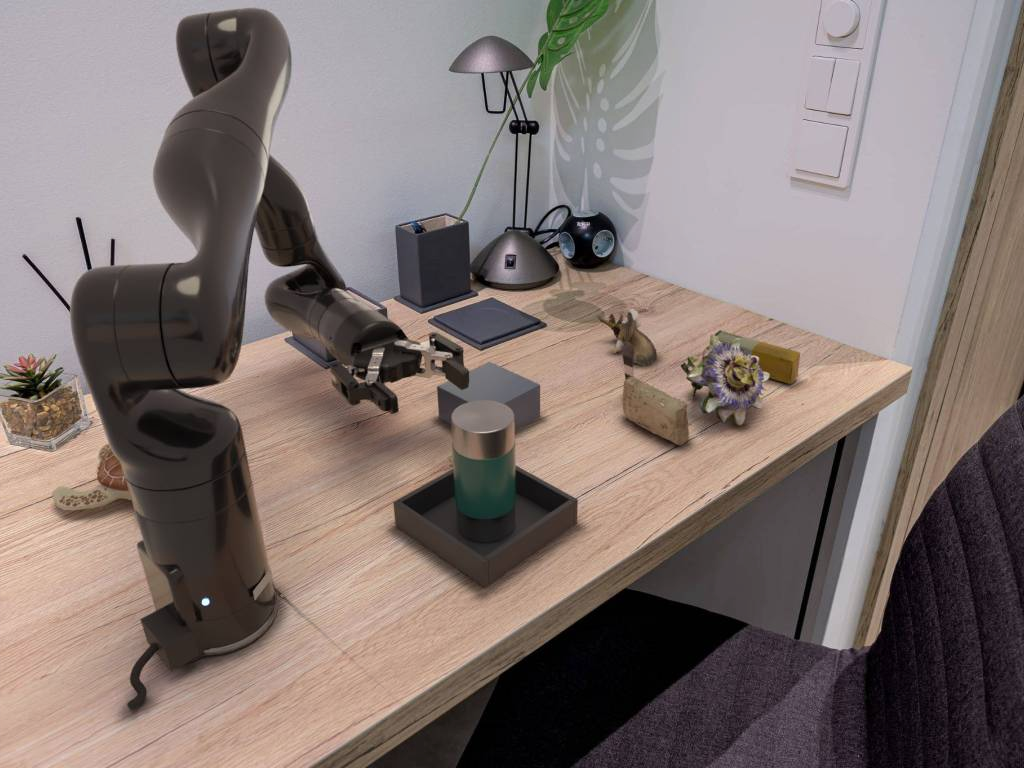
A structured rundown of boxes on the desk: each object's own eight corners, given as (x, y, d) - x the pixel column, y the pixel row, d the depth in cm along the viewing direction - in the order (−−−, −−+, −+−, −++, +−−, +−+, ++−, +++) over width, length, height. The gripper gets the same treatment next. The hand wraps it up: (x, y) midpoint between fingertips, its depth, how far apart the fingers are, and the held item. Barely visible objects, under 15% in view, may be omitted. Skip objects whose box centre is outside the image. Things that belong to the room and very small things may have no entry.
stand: (488, 448, 98) (487, 412, 95) (438, 420, 103) (436, 386, 101) (540, 419, 103) (540, 384, 101) (490, 394, 109) (489, 361, 106)
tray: (484, 592, 76) (483, 563, 75) (395, 529, 85) (392, 501, 83) (577, 526, 85) (578, 499, 83) (488, 475, 93) (487, 449, 91)
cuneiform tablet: (628, 398, 107) (702, 434, 99) (604, 416, 105) (678, 454, 97) (623, 354, 103) (700, 387, 95) (598, 371, 101) (675, 407, 93)
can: (485, 552, 81) (481, 440, 74) (444, 524, 84) (437, 416, 78) (528, 523, 84) (528, 414, 78) (487, 498, 88) (483, 393, 82)
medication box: (709, 361, 116) (710, 337, 114) (718, 353, 118) (719, 328, 116) (790, 385, 109) (793, 360, 107) (799, 376, 111) (802, 350, 109)
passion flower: (731, 458, 105) (719, 418, 95) (667, 412, 111) (649, 370, 101) (788, 394, 106) (781, 348, 96) (721, 352, 112) (709, 305, 102)
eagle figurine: (584, 339, 120) (615, 354, 112) (605, 295, 120) (638, 306, 112) (623, 358, 124) (656, 373, 116) (643, 315, 123) (678, 327, 115)
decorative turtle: (57, 553, 82) (43, 513, 79) (54, 468, 95) (42, 431, 92) (243, 501, 89) (235, 463, 87) (217, 429, 102) (209, 394, 100)
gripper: (300, 325, 92) (366, 381, 81) (412, 295, 99) (487, 343, 88) (309, 383, 96) (373, 445, 84) (416, 350, 103) (488, 403, 92)
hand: (431, 393), depth 86 cm, fingers open, 8 cm apart
